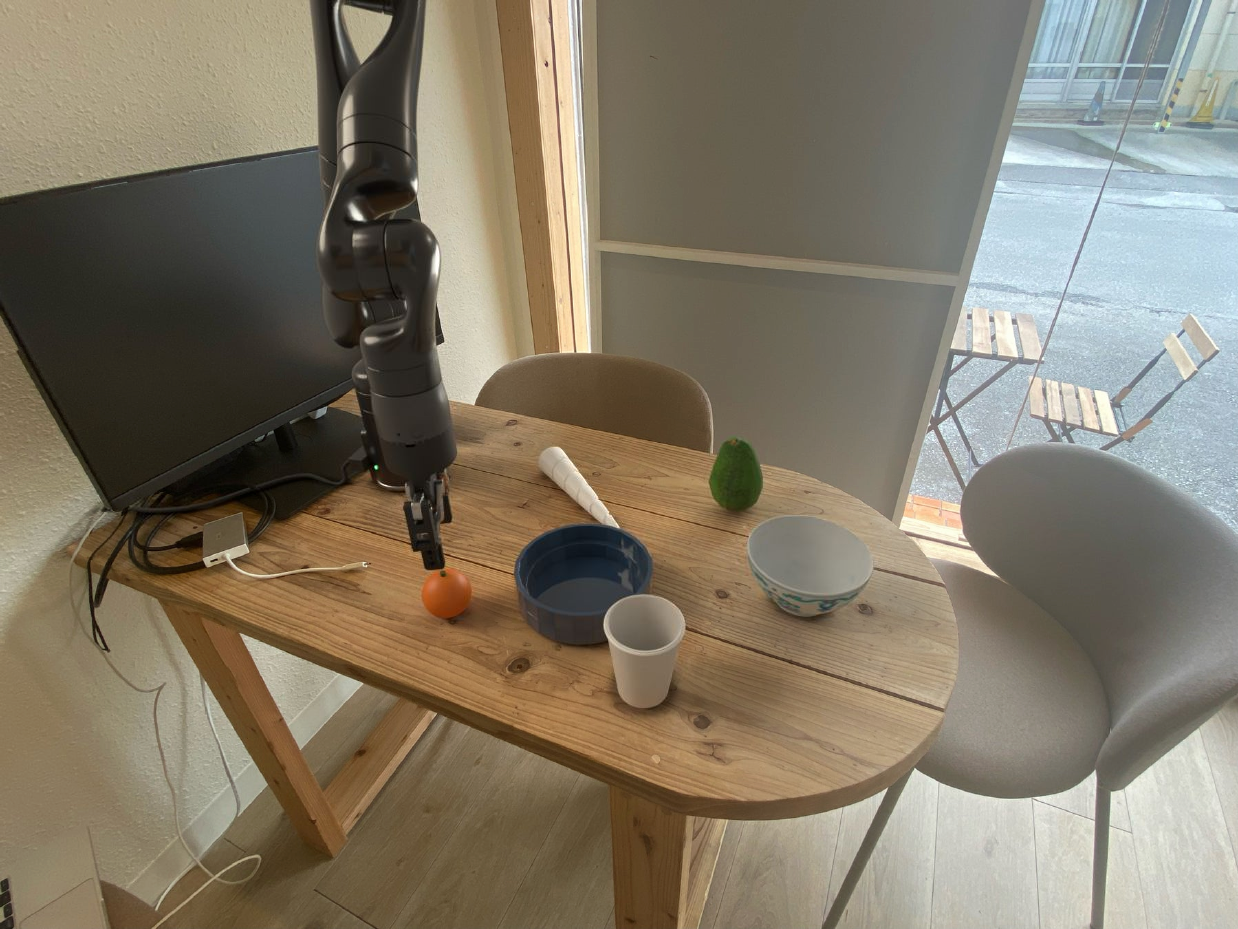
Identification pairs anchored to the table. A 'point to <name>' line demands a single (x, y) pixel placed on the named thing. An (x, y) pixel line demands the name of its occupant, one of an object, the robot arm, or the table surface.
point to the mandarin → (446, 593)
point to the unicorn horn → (573, 483)
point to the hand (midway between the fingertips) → (439, 544)
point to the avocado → (736, 475)
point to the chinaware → (808, 563)
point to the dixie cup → (643, 647)
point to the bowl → (579, 579)
